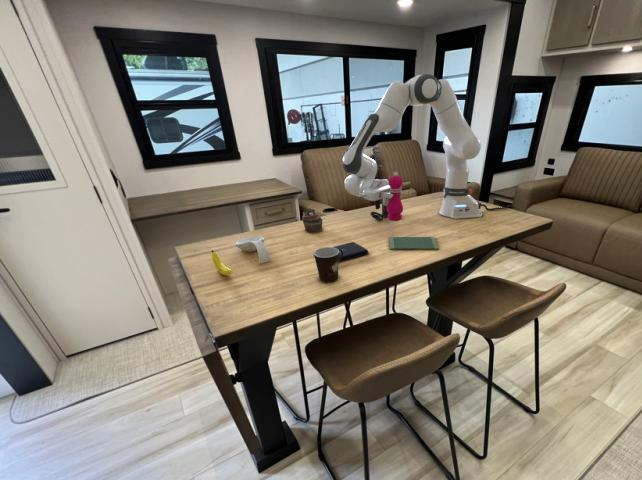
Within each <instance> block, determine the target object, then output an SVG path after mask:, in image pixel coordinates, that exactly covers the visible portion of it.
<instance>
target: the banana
mask: <svg viewBox="0 0 642 480" xmlns="http://www.w3.org/2000/svg"><path fill="white" fill-rule="evenodd" d="M211 258H212V262H213V264H214V266H215V268H216V269H217V270H218V272H219V273H220V274H221V275H222V276H227V277H228V276H231V275H232V274H233V271H232V269H231V268H229V267H228V266H226V265H225V264H224V262H223V261H222V259H221V257H220V256H219V255H218V254H217V253H216V252H215V251H214V250H211Z"/></svg>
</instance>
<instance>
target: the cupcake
mask: <svg viewBox="0 0 642 480" xmlns="http://www.w3.org/2000/svg"><path fill="white" fill-rule="evenodd" d="M302 213H303V214H302V219H301V221H302V223H303V226H304V229H305V232H306V233H309V234H312V233H313V234H315V233H319V232H321V231H322V230H323V222H324V219H323V218H322V216H321V214H320V213H318V212H317V210H315V209H311V208H308V210H304V211H303V212H302Z"/></svg>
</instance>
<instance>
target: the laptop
mask: <svg viewBox="0 0 642 480" xmlns="http://www.w3.org/2000/svg"><path fill="white" fill-rule="evenodd" d="M332 248H336V249H341V250H342V251H343V256H342V258H341V260H340V262H344V261H348V260H351V259H355V258H358V257H362V256H365V255H368V254H370V252H369V250H368V249H367V248H365V247H364V246H361V245H360V244H358V243H356V242H354V241H351V242H347V243H343V244H340V245H335V246H332ZM340 257H341V251H339V259H340Z"/></svg>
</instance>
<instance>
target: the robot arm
mask: <svg viewBox="0 0 642 480" xmlns="http://www.w3.org/2000/svg"><path fill="white" fill-rule="evenodd" d="M451 85H452V84H450V82H449V81H448V80H447V79H445V78H440V79H437V77H436V76H435V75H433V74H430V73H423V74H418V75H415V76H414V77H411V78H409V79H407V80H406V81H405V82H402V81H400V80H395V81H393V82H391V83H390V85H389V86H388V88H387V89H386V90H385V93H384V95H383V96H382V97H381V100H380V102H379V105H378V107H377V108H376V110H375V111H374V112H373V113H371V114H369V115H368V117H367V118H366V119H365V120H364V122H363V124H362V125H361V127H360V129H359V130H358V132H357V134H356V136H355V137H354V139H353V141H352V143H351V145H350V146H348V148H347V149H346V151H345V152H344V154H343V155H342V158H341V163H342V168H343V170H344V171H345V173H348V174H350V175H349V176H347V177H346V178H345V179H344V189H345V191H346V192H347V193H348V194H349V195H351V196H354V197H358V198H363V199H364V200H367V201H371V202H375V201H376V200H379V199H380V200H382V198H392V197H393V193H391V192H390V188H391V187H390V186H389V180H388V179H386V178H382V179H381V178H380V179H377V178H376V177H377V174H378V163H377V161H376V160H375V159H372V158H371V157H369V156H367V154H364V151H365V149H366V147H367V146H368V144H369V142H370V141H371V139H372V137H373V136H374V135H375V134H377V133H390V132H392V131H394V130H395V129H397V127H398V126H399V124H400V122H401V120H402V118H403V115H404V113H405V111H406V109H407V107H408V106H409V107H415V106H416V107H420V106H424V105H428V104H429V105H430V107H431V108H432V111H433V114H434V116H435V118H436V121H437V124H438V126H439V128H440V130H441V132H442V133H443V134H444V135H445V138H444V140H443V143H442V148H443V150H444V155H445V164H446V165H445V168H446V172H445V173H446V174H445V184H444V186H443V193H442V198H443V199H442V203H441V206H440V209H439V212H438V213H439V215H441V216H443V217H448V218H450V219H454V220H455V219H456V220H458V219H470V218H471V219H472V218H481V217H482V216H483V212H482V210H481V207H483V208H484V209H485V210H486V211H496V210H504V209H505V210H506V209H509V208H512V209H516V207H515V206H514V205H513V204H511V205H510V204H509V205H507V206H499V207H500V208H499V207H492V208H489V207H488V206H487V205H485V204H483V203H482V202H480V201H478V200H476V199H475V198H474V197H473V196H472V195H471V194H472V193H473V191H474V190H473V189H472V188H470V187H468V182H469V181H468V180H469V173H470V171H469V167H468V163H467V161H468V160H473V159H475V158H476V157H477V156H478V155H479V153H480V151H481V147H482V144H481V141H480V139H479V138H478V137H477V136H476V134H475V133H474V132H473V130H472V128H471V126H470V125H469V123H468V121H467V120H466V118H465V116H464V114H463V111H462V109H461V106H460V103H459V100H458V98H457V95H456V93H455V91H454V89H453V87H452V86H451ZM402 186H403V185H402ZM402 186H401V187H400V188H401V192H400V196H402V195H403V189H402V188H403V187H402ZM501 207H502V208H501Z"/></svg>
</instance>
